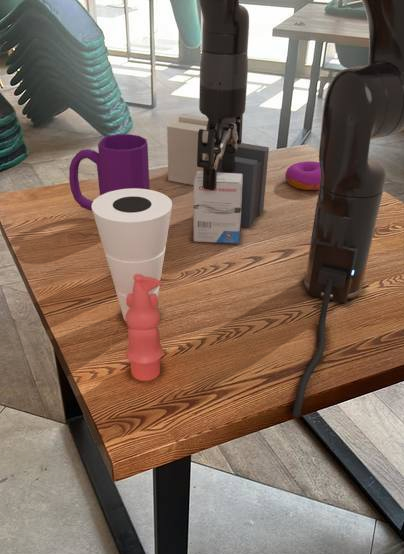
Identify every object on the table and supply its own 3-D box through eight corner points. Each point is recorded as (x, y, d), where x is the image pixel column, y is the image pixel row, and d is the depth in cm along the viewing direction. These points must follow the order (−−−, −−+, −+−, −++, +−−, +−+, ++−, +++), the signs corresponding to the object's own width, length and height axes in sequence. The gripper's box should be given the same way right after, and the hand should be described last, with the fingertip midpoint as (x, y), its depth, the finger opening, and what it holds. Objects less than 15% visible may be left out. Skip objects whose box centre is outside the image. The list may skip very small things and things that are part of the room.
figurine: (165, 358, 79) (162, 263, 70) (165, 383, 75) (162, 285, 66) (128, 358, 79) (120, 263, 70) (126, 383, 75) (117, 285, 66)
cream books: (203, 187, 126) (204, 130, 118) (167, 180, 129) (166, 124, 121) (217, 174, 132) (219, 119, 124) (183, 168, 135) (183, 113, 127)
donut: (314, 173, 133) (317, 154, 130) (340, 189, 126) (343, 169, 123) (276, 180, 130) (278, 160, 127) (300, 197, 123) (303, 176, 120)
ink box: (240, 232, 109) (243, 172, 102) (238, 244, 106) (242, 182, 98) (195, 230, 110) (196, 169, 102) (192, 242, 106) (193, 180, 99)
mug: (146, 230, 109) (142, 151, 100) (67, 225, 111) (56, 146, 101) (155, 210, 116) (152, 134, 107) (80, 205, 118) (71, 130, 108)
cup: (188, 317, 87) (188, 205, 76) (134, 346, 81) (125, 230, 70) (143, 289, 93) (137, 182, 82) (89, 315, 87) (75, 203, 76)
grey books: (249, 228, 111) (254, 161, 103) (208, 219, 114) (210, 154, 105) (263, 211, 117) (269, 147, 109) (224, 203, 120) (227, 140, 111)
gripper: (228, 95, 85) (223, 199, 95) (260, 74, 95) (252, 170, 105) (182, 89, 87) (182, 191, 97) (218, 68, 97) (215, 163, 107)
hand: (219, 180), depth 101 cm, fingers open, 8 cm apart
